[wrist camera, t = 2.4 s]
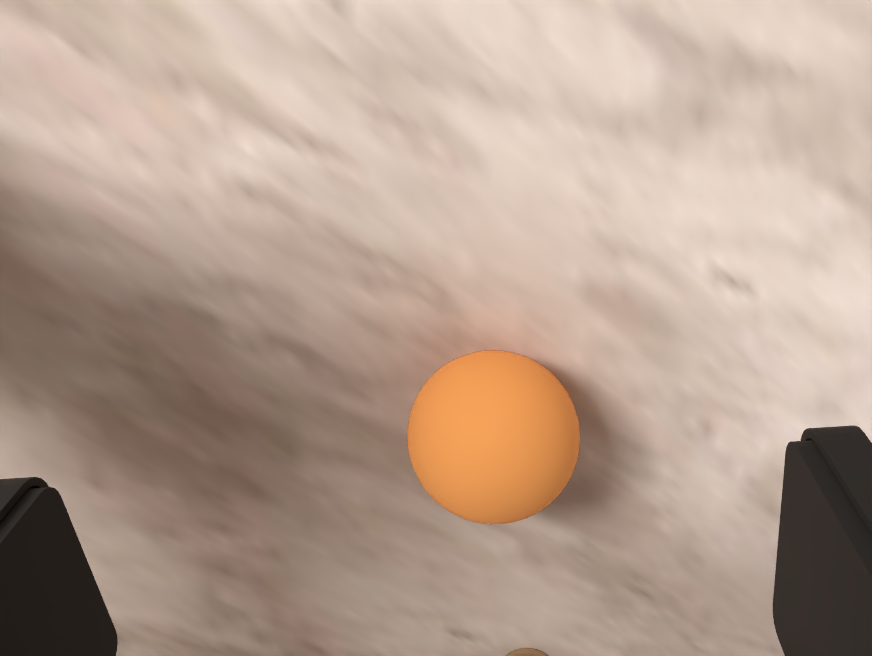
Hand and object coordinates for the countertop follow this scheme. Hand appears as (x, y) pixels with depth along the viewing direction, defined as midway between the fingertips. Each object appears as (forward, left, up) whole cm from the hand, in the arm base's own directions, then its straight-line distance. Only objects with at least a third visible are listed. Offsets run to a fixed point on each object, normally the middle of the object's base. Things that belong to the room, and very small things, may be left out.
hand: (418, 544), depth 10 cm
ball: (+9, 0, -16) cm, 18 cm away
